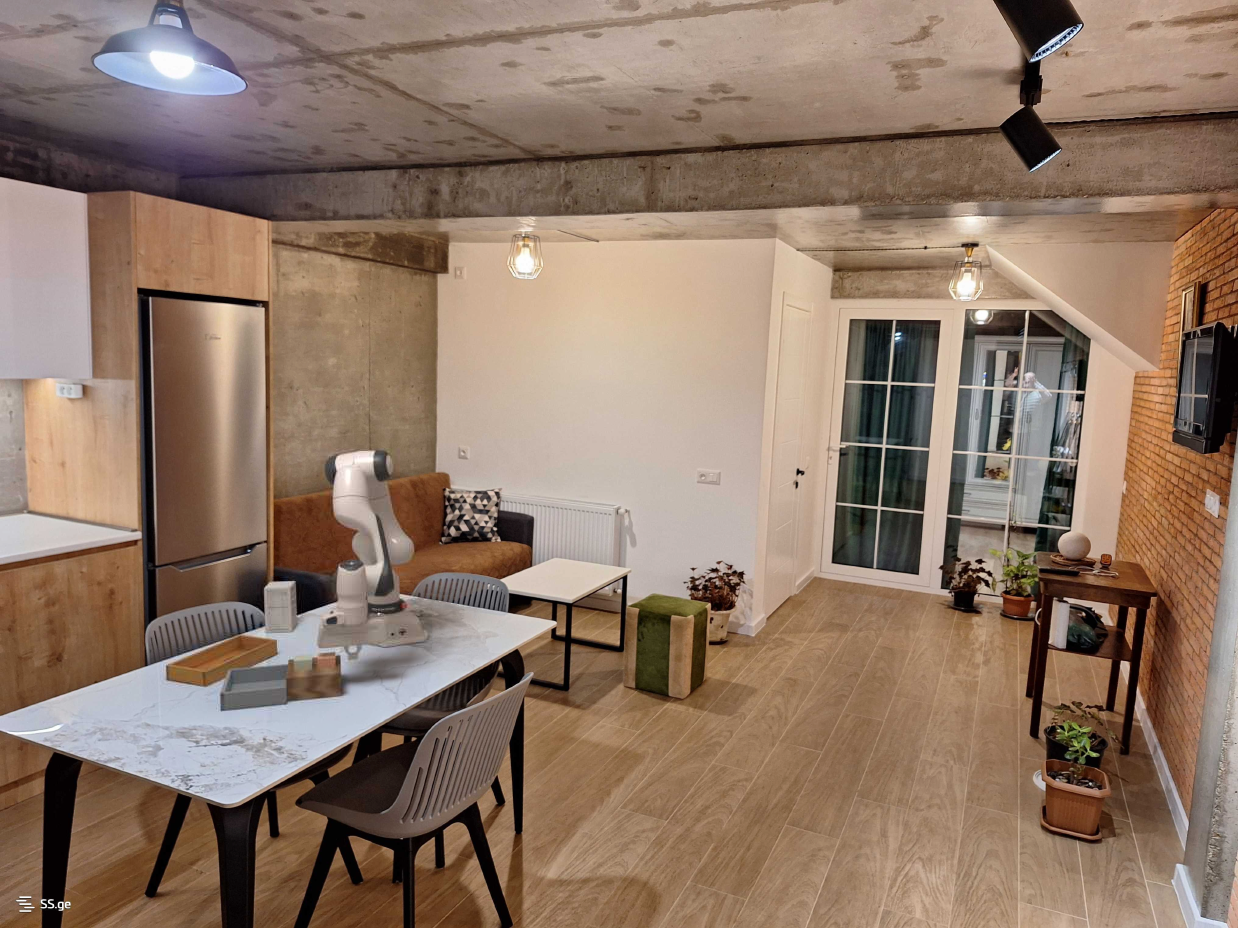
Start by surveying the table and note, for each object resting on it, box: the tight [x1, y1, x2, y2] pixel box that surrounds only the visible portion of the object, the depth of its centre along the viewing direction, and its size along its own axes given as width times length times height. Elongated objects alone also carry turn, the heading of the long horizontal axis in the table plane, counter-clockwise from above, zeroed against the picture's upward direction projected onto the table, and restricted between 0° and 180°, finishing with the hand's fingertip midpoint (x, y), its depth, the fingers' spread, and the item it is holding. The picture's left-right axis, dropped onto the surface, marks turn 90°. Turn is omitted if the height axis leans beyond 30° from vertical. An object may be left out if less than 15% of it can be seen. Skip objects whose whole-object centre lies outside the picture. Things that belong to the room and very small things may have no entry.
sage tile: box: [294, 653, 314, 671], centre depth 247 cm, size 5×5×3 cm
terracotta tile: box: [317, 651, 336, 669], centre depth 250 cm, size 5×5×3 cm
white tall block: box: [263, 580, 298, 634], centre depth 304 cm, size 10×9×17 cm
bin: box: [219, 663, 288, 712], centre depth 244 cm, size 17×20×5 cm
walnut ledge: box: [286, 654, 342, 703], centre depth 249 cm, size 15×16×7 cm
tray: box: [165, 634, 278, 688], centre depth 265 cm, size 31×15×6 cm, turn 162°
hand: (353, 659), depth 252 cm, fingers closed
